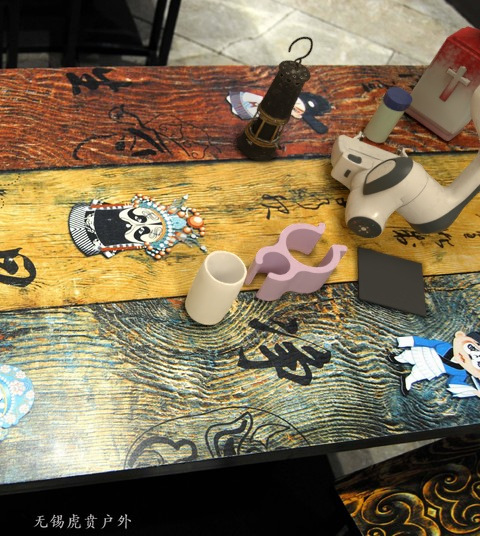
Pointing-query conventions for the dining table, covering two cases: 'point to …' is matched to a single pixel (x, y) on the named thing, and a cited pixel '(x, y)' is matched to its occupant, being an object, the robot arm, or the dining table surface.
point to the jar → (382, 123)
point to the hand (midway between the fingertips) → (380, 141)
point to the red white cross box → (449, 85)
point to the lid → (397, 99)
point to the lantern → (275, 109)
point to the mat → (391, 281)
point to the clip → (293, 263)
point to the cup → (215, 287)
